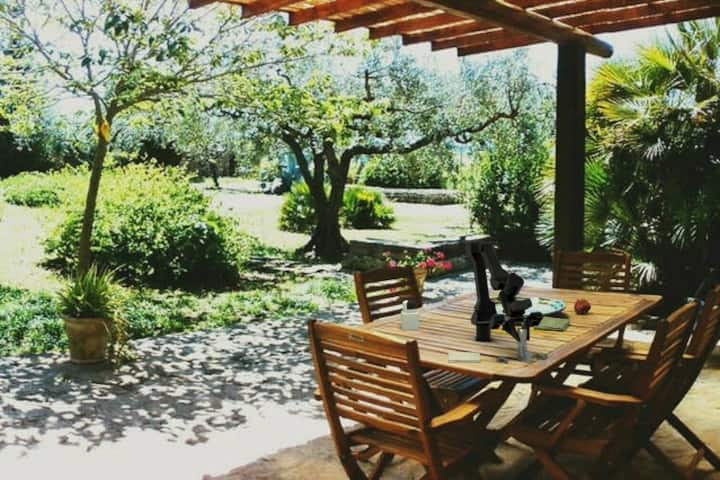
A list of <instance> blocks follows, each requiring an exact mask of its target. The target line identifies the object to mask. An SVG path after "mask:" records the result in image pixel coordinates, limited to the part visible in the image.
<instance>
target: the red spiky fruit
mask: <svg viewBox="0 0 720 480" xmlns="http://www.w3.org/2000/svg"><path fill="white" fill-rule="evenodd" d="M573 305H574V306H573V311H574V312H575V314H577V315H586V317H587V316H588V313H589V311H591V308H592V306H591V305H592V304H591V303H590V302H589V301H588V300H587V299H585V298H584V299H583V298H582V299H576V301H575V303H574V304H573Z"/></svg>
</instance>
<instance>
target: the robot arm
mask: <svg viewBox="0 0 720 480" xmlns="http://www.w3.org/2000/svg"><path fill="white" fill-rule="evenodd" d="M464 249H465V252H466V256H467V259H468V260H469V261H470V262H471V264H472V269H473V275H474V276H473V277H474V283H475V292H476V299H477V300H476V302H475V305H474V306H473V309H474V311H473V312H472V314H471V317H470V322H471V323H470V324H471V325H473V326H475V336H474V340H475V342H492V341H493V337H492V335H491V334H492V330H493V331H494V330H499V329H500V327H501V326H502V328H501V330H502V331H503V332H506V333H507V334H508V335H509V336H511V337H512V338H513V339H514V340H515V341H516V342H517V341H518V342H519V341H520V338H519V335H518V333H517V328H516V325H515V324H521V328H526V329H527V342H529V341H530V340H531V339H530V337H531V336H530V335H531V331H530V330H531V328H532V327H534V326H539V324H540V323H541V321H542V319H543V318H544V317H545V316H544V314H543V313H542V312H541V311H530V313H529V314H528V316H527V315H525V314H526V310H529V309H530V308H532V307H533V303H532V299H531V298H530V297H529V298H525V299H520V300H518V299H517V296H518V295H519V294H520V292H521V290H522V288H523V286H524V284H525V280H524V278H523V277H521V276H520V275H518V274H517V273H516V272H515V271H514V272H513V271H512V272H509V271H507V270H506V269H505V268H503V267H502V265H501V263H500V261H499V259H498V256H497V254H496V252H495V250H494V245H493V242H487V241H485V240H469V241H468V242H467V243H466V244H465V248H464ZM486 268H487V269H488V272H489V275H490V277H489V283H488V277H487V269H486ZM489 284H490V287H491V288H492V290H493V291H496V292H497V291H500V292H499V293H498V295H497V302H500V304H501V306H502V313H501V314H498V311H497V308H496V306H497V305H496V302H495V301H493V300H492V299H491V298H490V291H489Z"/></svg>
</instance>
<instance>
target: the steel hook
mask: <svg viewBox="0 0 720 480" xmlns="http://www.w3.org/2000/svg"><path fill="white" fill-rule="evenodd" d="M516 330H517V333H518V335H519V338H520V341H519V342H518V341H517V340H516V342H517V343H516V344H517V348H516V349H517V352H516V353H517V359H516V360H517V361H520V362H522V361H523V363H524V362H525V364H526V363H528V364H532V351H530V350H528V347H527V346H528V341H527V329H526V328H522V327H518V328H516ZM528 364H527V365H528Z"/></svg>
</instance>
